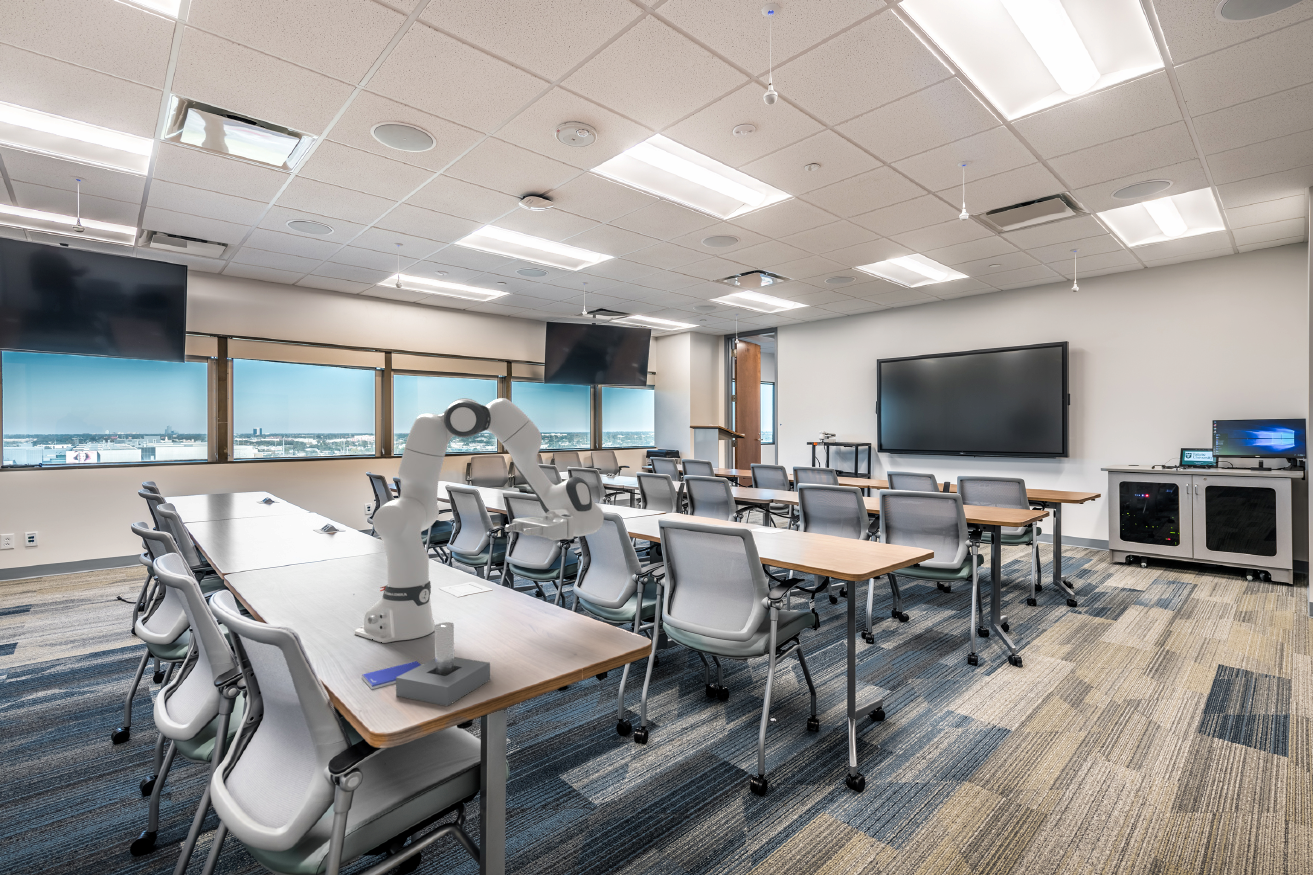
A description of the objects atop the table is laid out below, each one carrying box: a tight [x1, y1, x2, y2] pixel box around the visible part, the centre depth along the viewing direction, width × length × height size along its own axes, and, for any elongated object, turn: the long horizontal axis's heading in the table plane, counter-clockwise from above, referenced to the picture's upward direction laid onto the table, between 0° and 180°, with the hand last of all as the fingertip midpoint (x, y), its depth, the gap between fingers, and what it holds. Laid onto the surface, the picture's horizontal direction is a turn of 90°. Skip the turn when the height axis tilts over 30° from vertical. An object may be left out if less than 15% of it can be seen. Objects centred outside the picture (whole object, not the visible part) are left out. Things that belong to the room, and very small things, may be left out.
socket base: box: [395, 656, 491, 707], centre depth 130 cm, size 14×14×4 cm
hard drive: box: [361, 660, 422, 690], centre depth 137 cm, size 2×8×12 cm
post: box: [434, 622, 455, 676], centre depth 130 cm, size 4×4×14 cm
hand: (514, 530), depth 162 cm, fingers open, 8 cm apart
